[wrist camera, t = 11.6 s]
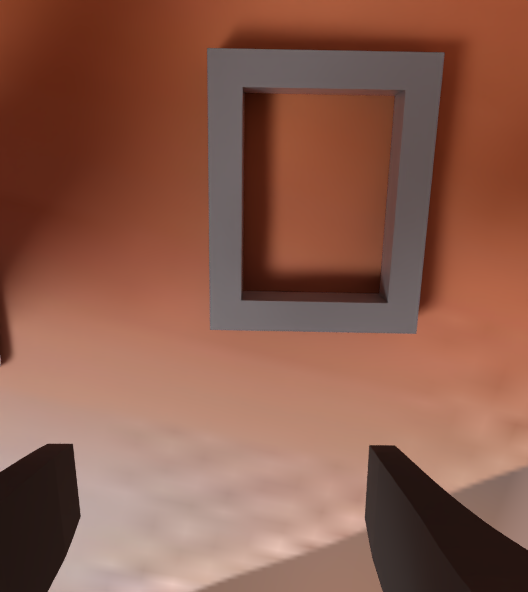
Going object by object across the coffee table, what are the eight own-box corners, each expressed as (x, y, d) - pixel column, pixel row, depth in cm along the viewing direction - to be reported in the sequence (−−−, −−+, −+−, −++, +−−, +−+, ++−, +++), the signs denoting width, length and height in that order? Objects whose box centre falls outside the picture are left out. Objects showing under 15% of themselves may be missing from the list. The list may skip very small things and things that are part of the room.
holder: (214, 318, 21) (210, 329, 19) (211, 57, 18) (207, 48, 17) (405, 321, 21) (416, 333, 19) (430, 61, 18) (444, 52, 17)
